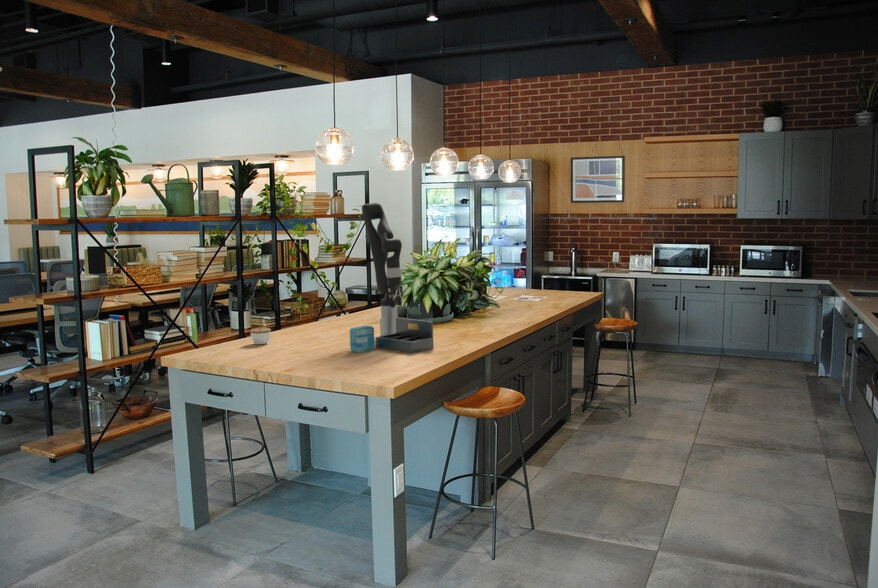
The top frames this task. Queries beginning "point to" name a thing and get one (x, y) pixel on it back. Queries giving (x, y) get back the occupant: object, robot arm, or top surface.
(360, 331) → the blue flat rounded slab
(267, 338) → the lidded jar
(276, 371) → the top surface
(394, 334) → the rack
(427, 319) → the tea set
